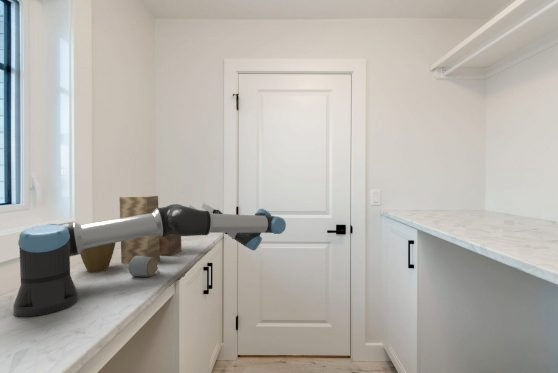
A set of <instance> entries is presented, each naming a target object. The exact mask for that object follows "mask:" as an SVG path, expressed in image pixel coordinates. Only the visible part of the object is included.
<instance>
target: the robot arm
mask: <svg viewBox="0 0 558 373" xmlns="http://www.w3.org/2000/svg"><path fill="white" fill-rule="evenodd" d="M200 208H202V210H200V209H197V208H196V207H195V206H193V205H191V204H190V205H189V206H185V205H182V204H178V203H176V204H175V203H173V204H169V205H167V206H163V207H158V208H156V209H155V210H154V211H153V212H152V213H149V214H143V215H137V216H131V217H125V218H120V217H119V218H114V219H110V220H103V221H98V222H91V223H85V224H80V223H77V222H76V221H72V222H66V223H65V222H64V223H60V224H56V223H49V224H43V225H37V226H32V227H29V228H26V229H24V230H23V231H21V232H20V234H19V239H18V241H17V242H18V247H19V270H20V272H19V273H20V286H19V288H18V292H17V294H16V297H15V300H14V303H13V315H15V316H17V317H23V318H25V317H26V318H28V317H38V316H44V315H48V314H53V313H56V312H58V311H61V310H64V309H67V308H68V307H71V306H72V305H74V304H76V303H77V302H78V300H79V292H78V290H77V288H76V285H75V283H74V281H73V278H72V276H71V260H70V259H71V257H74V256H78V255H80V253H81V252H82V251H83V250H84V249H87V248H91V247H96V246H101V245H106V244H111V243H115V242H116V243H121V241H125V240H130V239H135V238H139V237H144V236H149V235H154V234H157V235H158V236H160V237H162V236H167V235H172V234H175V235H178V236H181V237H196V236H208V235H209V234H212V233H214V234H215V233H217V234H219V233H221V234H222V233H223V234H225V235H227V236H229V237H230V238H231V239H232V240H235V241H236V242H238V243H239V244H241V245H243V246H244V247H245V248H248V249H249V250H251V251H256V250H257V249H258V248H259V246H260V244H261V242H262V240H263V238H262V237H261V235H262V234H265V233H266V234H274V235H275V234H277V235H280V234H282V233H284V232H285V230H286V227H287V223H286V221H285V219H284V218H283V217H280V216H274V215H272V214H271V213H270V212H269V211H268V210H266V209H264V208H259V209H257V211H256V212H255V214H253V215H249V214H233V213H232V214H231V213H229V214H228V213H223V212H222V211H221V210H220V209H215V208H214V207H212V206H210V205H209V204H207V203H205V202H203V203H202V205H201V207H200ZM116 243H115V244H116Z"/></svg>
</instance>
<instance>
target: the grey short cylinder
mask: <svg viewBox="0 0 558 373" xmlns="http://www.w3.org/2000/svg"><path fill="white" fill-rule="evenodd" d="M158 265H159V264H158V261H156V259H154V258H151V257H143V256H135V257H133V258H132V260H131V261H130V264H128V273H129V275H130V276H132V277H143V278H144V277H146V278H149V277H152V276H154V275H155V274H156V272H158V270H159V267H158Z"/></svg>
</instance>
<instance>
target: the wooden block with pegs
mask: <svg viewBox="0 0 558 373" xmlns="http://www.w3.org/2000/svg"><path fill="white" fill-rule="evenodd" d="M159 249H160V257H172V256H174V255H176V254H178V253H179V254H180V252H182V236H178V235H175V234H172V235H167V236H162V237H160V236H159Z"/></svg>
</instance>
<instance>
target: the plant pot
mask: <svg viewBox="0 0 558 373" xmlns="http://www.w3.org/2000/svg"><path fill="white" fill-rule="evenodd" d="M116 243H117V242H115V243H111V244H106V245H101V246H96V247H91V248H87V249H84V250H83V251H82V252H81V253H80V254H79V255H80V257H81V260H82V263H83V265H84V267H85V270H87V272H88V273H99V272H103V271H106V270H107V269H109V267H110V264H111V261H112V258H113V254H114V251H115V246H116Z"/></svg>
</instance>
